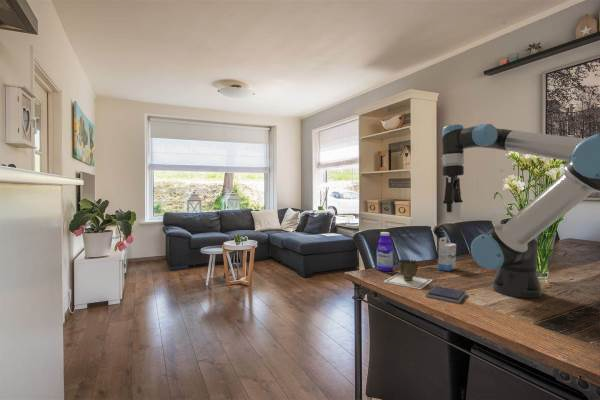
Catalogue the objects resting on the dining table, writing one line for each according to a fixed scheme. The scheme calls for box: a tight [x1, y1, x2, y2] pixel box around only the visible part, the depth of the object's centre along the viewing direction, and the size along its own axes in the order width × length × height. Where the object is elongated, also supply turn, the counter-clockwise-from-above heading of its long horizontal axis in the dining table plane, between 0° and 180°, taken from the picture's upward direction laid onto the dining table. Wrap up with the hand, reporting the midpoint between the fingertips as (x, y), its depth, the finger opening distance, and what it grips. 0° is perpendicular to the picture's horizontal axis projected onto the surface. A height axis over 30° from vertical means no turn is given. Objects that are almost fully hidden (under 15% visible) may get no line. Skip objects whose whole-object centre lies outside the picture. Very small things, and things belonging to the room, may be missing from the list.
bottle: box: [376, 231, 394, 272], centre depth 153 cm, size 7×6×17 cm
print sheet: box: [382, 273, 434, 290], centre depth 135 cm, size 15×15×1 cm
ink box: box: [437, 236, 457, 272], centre depth 155 cm, size 8×5×15 cm, turn 134°
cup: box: [398, 258, 419, 281], centre depth 135 cm, size 8×7×8 cm
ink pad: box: [425, 285, 468, 305], centre depth 118 cm, size 11×11×1 cm
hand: (453, 219), depth 130 cm, fingers open, 13 cm apart
